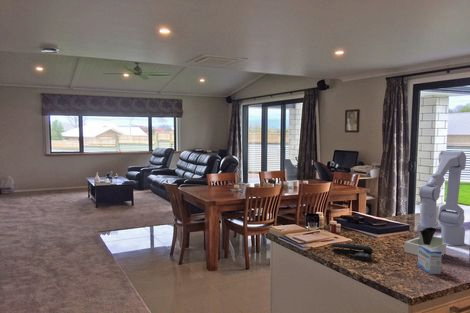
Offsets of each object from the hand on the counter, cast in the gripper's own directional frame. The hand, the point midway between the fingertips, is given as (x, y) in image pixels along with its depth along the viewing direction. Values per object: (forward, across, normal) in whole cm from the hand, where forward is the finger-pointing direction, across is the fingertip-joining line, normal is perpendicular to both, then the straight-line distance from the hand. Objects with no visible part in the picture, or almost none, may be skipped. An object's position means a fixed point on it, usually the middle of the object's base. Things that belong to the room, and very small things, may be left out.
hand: (426, 244), depth 159 cm
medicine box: (+4, +21, +11) cm, 24 cm away
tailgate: (+2, -4, 0) cm, 4 cm away
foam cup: (+4, -43, -19) cm, 47 cm away
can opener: (+4, +31, -17) cm, 35 cm away
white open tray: (+4, +2, 0) cm, 4 cm away
